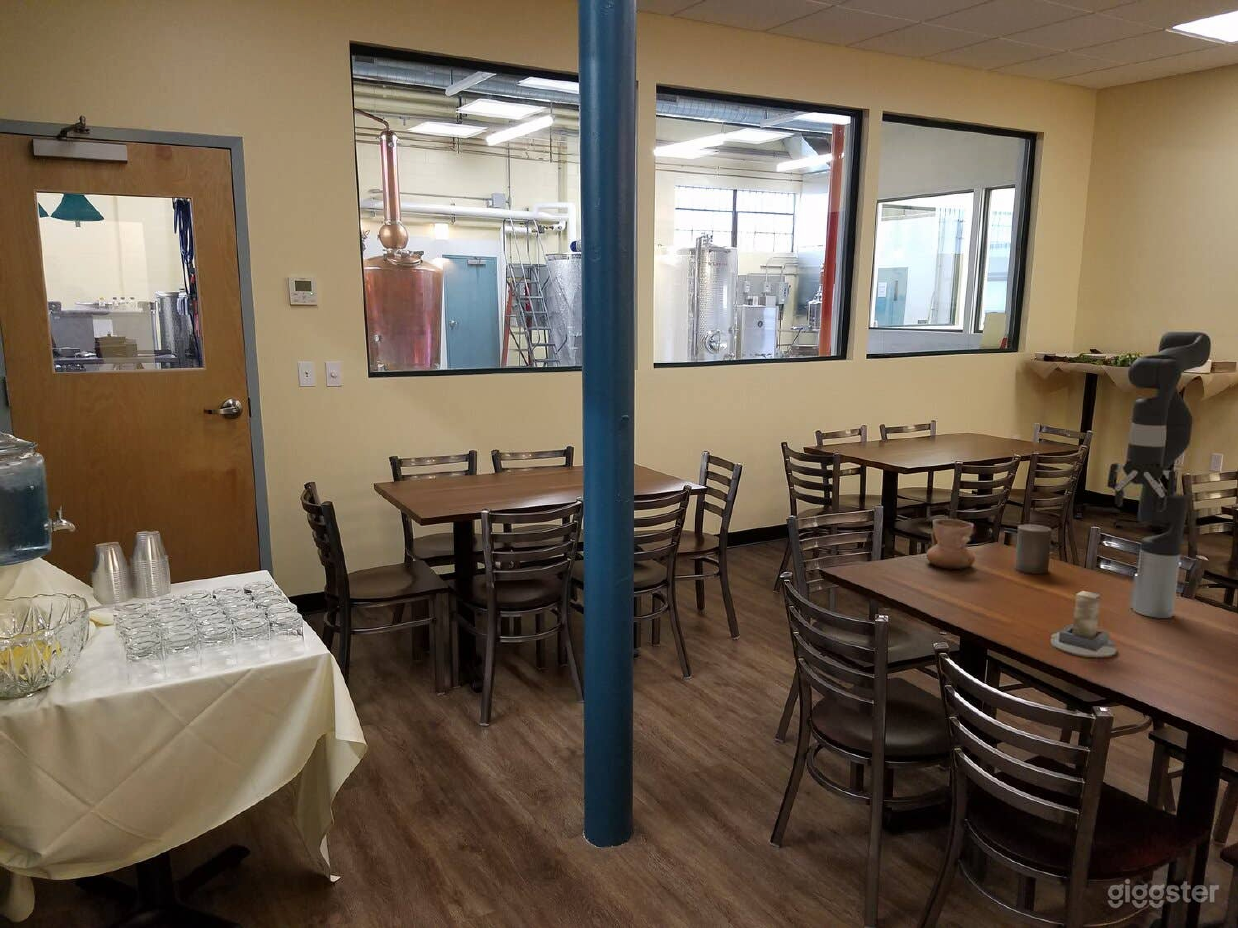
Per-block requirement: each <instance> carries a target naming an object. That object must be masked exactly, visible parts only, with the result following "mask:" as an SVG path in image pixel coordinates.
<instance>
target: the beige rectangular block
mask: <svg viewBox="0 0 1238 928" xmlns="http://www.w3.org/2000/svg"><path fill="white" fill-rule="evenodd" d="M1075 594H1076V595H1075V606H1074V612H1073V613H1074V614H1073V623H1072V624H1073V632H1072V633H1073V634H1077V635H1081V636H1085V637H1089V638H1093V639H1094V638H1095V637H1096V630H1098V629H1097V628H1098V619H1099V611H1100V610H1099V609H1100V601H1101V594H1099V593H1094V592H1091V591H1085V590H1082V591H1080V592H1078V593H1075Z"/></svg>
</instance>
